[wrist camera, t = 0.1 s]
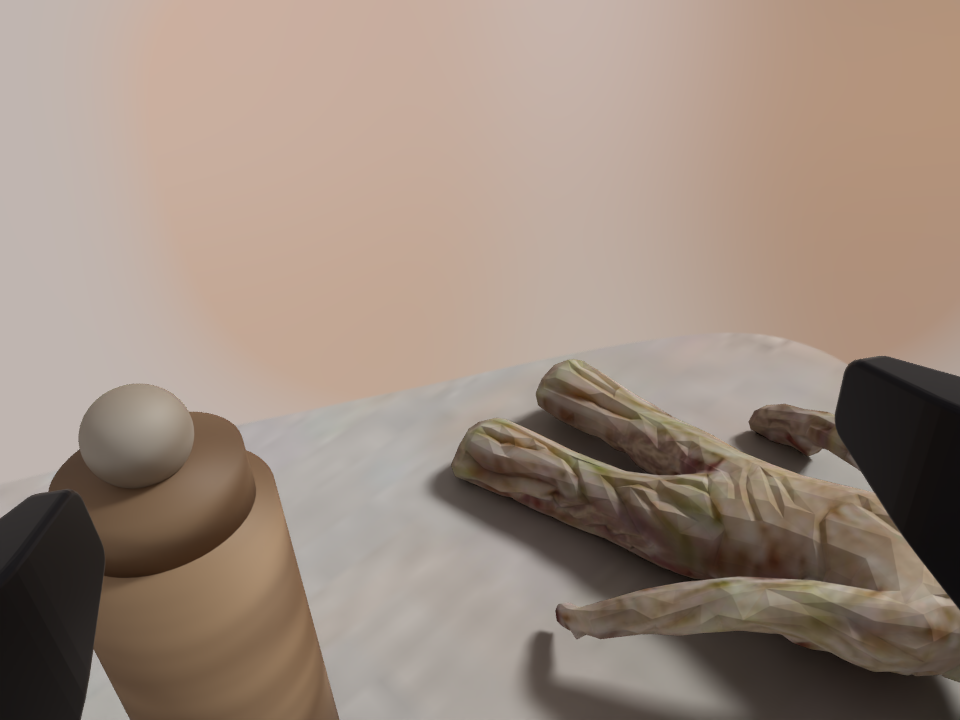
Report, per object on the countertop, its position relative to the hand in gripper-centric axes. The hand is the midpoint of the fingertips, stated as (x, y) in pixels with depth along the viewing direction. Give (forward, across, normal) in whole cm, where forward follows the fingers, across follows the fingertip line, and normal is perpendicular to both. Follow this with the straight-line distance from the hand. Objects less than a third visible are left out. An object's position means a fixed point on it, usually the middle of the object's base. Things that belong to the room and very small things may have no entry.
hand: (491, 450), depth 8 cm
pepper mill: (+6, +6, +16) cm, 18 cm away
